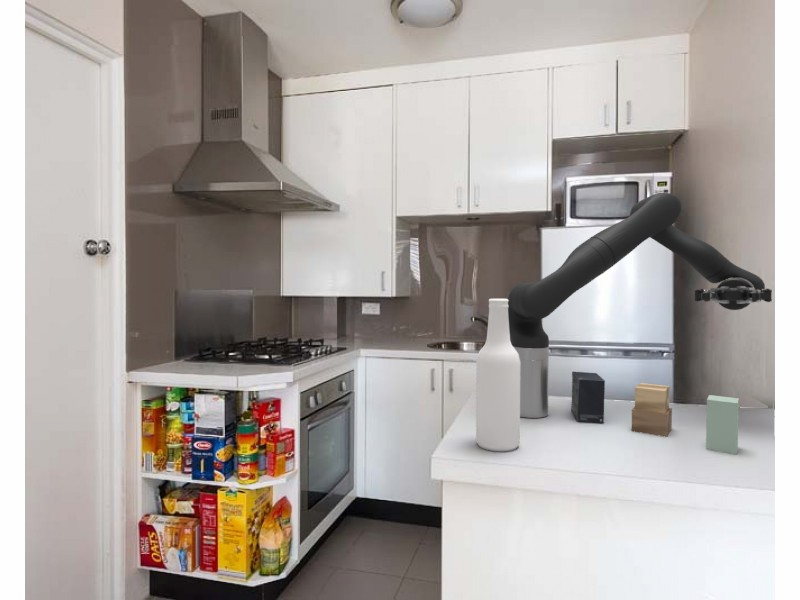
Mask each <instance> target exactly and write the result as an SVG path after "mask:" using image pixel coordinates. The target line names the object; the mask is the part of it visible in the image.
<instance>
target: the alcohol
mask: <svg viewBox="0 0 800 600" xmlns="http://www.w3.org/2000/svg"><path fill="white" fill-rule="evenodd" d="M508 301H509V300H508V298H489V299H488V319H487V320H488V321H487V322H488V323H487V330H486V331H487V332H486V339H485V343H484V345H482V346H483V347H481V348H480V350H479V352H478V353H477V357H476V362H475V363H476V365H475V366H476V370H475V371H476V374H475V375H476V377H475V379H476V383H475V385H476V386H475V387H476V389H475V390H476V391H475V392H476V393H475V394H476V395H475V402H476V403H475V405H476V406H475V413H476V414H475V427H476V428H475V441H476V443H477V444H478V446H479V447H480V448H482V449H484V450H486V451H491V452H499V453H500V452H512V451H514V450H516V449H517V448H518V447H519V445H520V441H521V417H520V358H519V354H518V353H517V351H516V350H515V348H514V347H513V346H512V344H511V338H510V332H509V318H508V307H509V305H508Z"/></svg>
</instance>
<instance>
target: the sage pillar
mask: <svg viewBox="0 0 800 600" xmlns="http://www.w3.org/2000/svg"><path fill="white" fill-rule="evenodd" d="M739 400H740V398H739V397H737V398H736V397H729V396H720V395H712V394H709V395H708V397H707V398H706V428H705V429H706V431H705V433H706V434H705V436H706V437H705V440H706V441H705V450H707V451H708V450H709V451H714V452H719V453H725V454H730V455H731V454H732V455H737V453H738V448H739V447H738V446H739V445H738V444H739V410H740V409H739V407H740V405H739V403H740V401H739Z"/></svg>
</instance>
